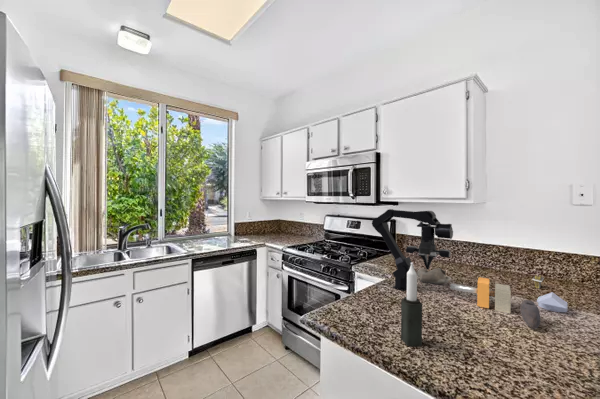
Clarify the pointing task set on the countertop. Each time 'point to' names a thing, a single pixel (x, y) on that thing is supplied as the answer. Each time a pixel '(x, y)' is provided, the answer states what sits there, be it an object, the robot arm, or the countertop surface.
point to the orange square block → (483, 292)
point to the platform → (538, 281)
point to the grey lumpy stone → (433, 276)
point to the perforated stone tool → (530, 314)
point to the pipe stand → (492, 295)
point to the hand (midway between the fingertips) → (427, 269)
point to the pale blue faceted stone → (552, 302)
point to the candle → (411, 312)
